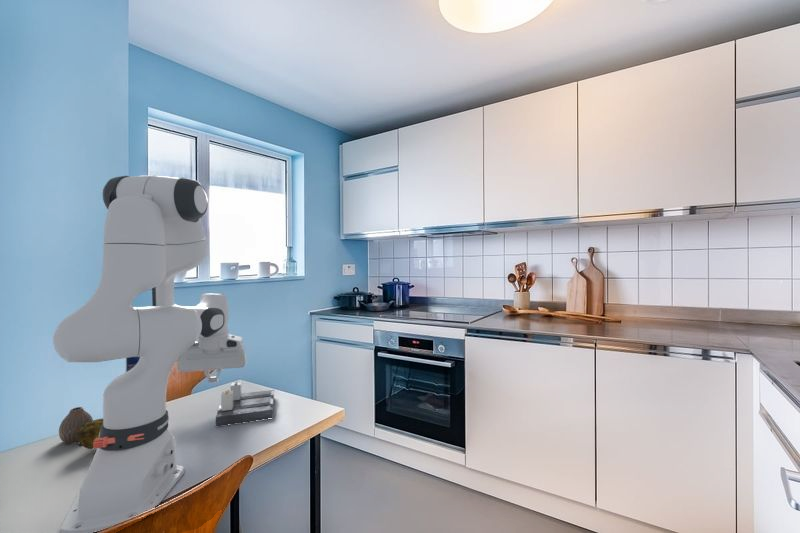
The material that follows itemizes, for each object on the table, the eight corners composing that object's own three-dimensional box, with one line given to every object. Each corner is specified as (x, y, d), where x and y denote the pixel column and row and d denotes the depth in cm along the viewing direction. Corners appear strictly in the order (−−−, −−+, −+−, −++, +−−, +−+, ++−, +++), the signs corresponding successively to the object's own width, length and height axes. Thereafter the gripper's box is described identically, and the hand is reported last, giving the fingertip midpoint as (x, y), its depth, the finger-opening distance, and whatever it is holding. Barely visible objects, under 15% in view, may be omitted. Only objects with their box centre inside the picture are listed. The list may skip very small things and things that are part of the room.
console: (272, 419, 106) (272, 407, 106) (215, 426, 101) (215, 414, 101) (274, 398, 123) (274, 387, 123) (225, 403, 118) (225, 393, 118)
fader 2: (240, 399, 114) (240, 383, 114) (230, 400, 113) (230, 384, 113) (241, 396, 117) (241, 381, 117) (231, 397, 116) (231, 382, 116)
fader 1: (231, 409, 106) (231, 392, 106) (221, 411, 105) (221, 394, 105) (233, 406, 109) (233, 389, 109) (222, 407, 108) (222, 390, 108)
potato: (142, 441, 93) (142, 412, 93) (78, 462, 83) (78, 430, 83) (134, 432, 98) (134, 404, 98) (73, 451, 88) (73, 420, 88)
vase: (71, 448, 89) (71, 415, 89) (51, 445, 91) (51, 412, 91) (99, 435, 96) (99, 404, 96) (80, 432, 97) (80, 402, 97)
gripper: (174, 345, 106) (174, 388, 107) (245, 341, 113) (245, 382, 113) (180, 340, 112) (179, 381, 113) (247, 337, 119) (246, 376, 119)
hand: (213, 382), depth 113 cm, fingers closed
